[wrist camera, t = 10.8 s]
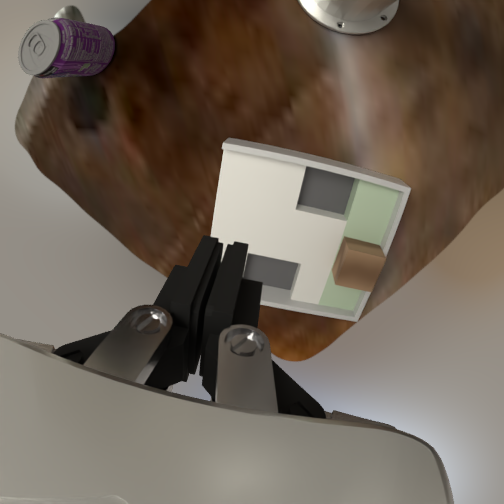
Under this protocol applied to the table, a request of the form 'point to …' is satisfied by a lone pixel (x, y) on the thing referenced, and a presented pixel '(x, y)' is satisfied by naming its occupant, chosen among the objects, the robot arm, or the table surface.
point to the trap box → (302, 222)
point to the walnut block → (358, 264)
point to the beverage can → (65, 48)
